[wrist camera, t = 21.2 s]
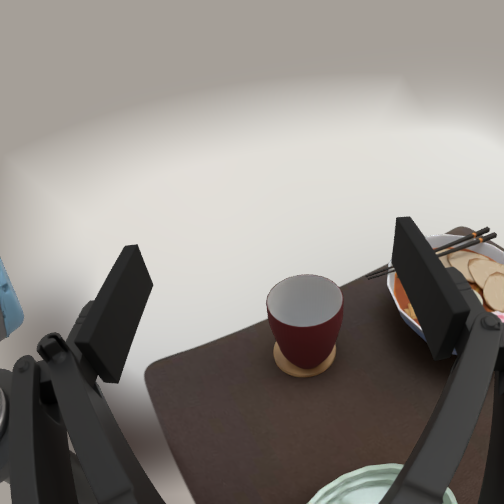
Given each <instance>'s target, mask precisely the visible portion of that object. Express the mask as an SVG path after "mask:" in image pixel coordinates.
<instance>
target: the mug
mask: <svg viewBox="0 0 504 504" xmlns="http://www.w3.org/2000/svg"><path fill="white" fill-rule="evenodd" d="M266 305H267V313H268V320H269V324H270V327H271V330H272V332H273V335H274V337H275V339H276V341H277V344H278V346H279V348H280V350H281V352H282V354H283V355H284V357H285V358H286V359H287V360H288V361H289V362H291V363H292V364H294V365H295V366H297V367H299V368H302V369H311V368H315V367H317V366H318V365H320V364H321V363H322V362H323V361H324V360H326V359H327V357H328V356H329V355H330V354H331V352H332V350H333V348H334V345H335V342H336V339H337V336H338V333H339V330H340V327H341V324H342V319H343V294H342V291H341V290H340V288H339V287H338V286H337V285H336V284H335V283H334V282H333V281H331V280H329V279H327V278H324V277H322V276H317V275H297V276H293V277H289V278H287V279H284V280H283V281H281V282H279V283H278V284H276V285H275V286H274V287H273V288H272V289H271V291H270V292H269V294H268V296H267V301H266Z"/></svg>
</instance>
